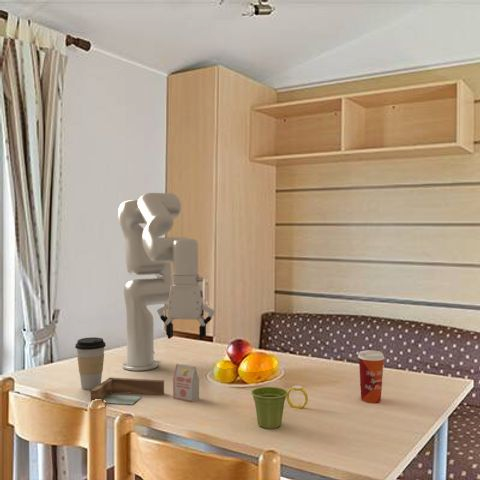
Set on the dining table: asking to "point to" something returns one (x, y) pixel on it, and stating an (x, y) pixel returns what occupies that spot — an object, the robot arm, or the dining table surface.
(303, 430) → the dining table surface
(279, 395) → the plant pot
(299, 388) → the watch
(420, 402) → the dining table surface
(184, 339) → the dining table surface
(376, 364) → the paper cup
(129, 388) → the corner walls
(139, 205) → the robot arm
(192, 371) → the white carton
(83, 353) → the coffee cup
